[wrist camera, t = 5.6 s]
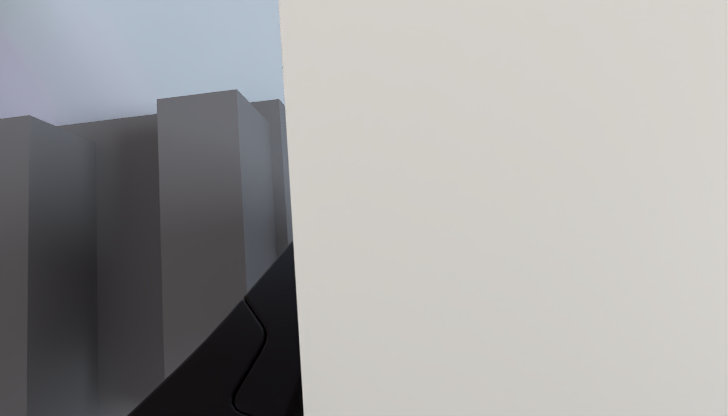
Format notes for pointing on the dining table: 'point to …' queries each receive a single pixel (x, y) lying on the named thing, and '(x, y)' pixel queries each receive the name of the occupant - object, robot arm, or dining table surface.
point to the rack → (131, 245)
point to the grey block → (509, 206)
